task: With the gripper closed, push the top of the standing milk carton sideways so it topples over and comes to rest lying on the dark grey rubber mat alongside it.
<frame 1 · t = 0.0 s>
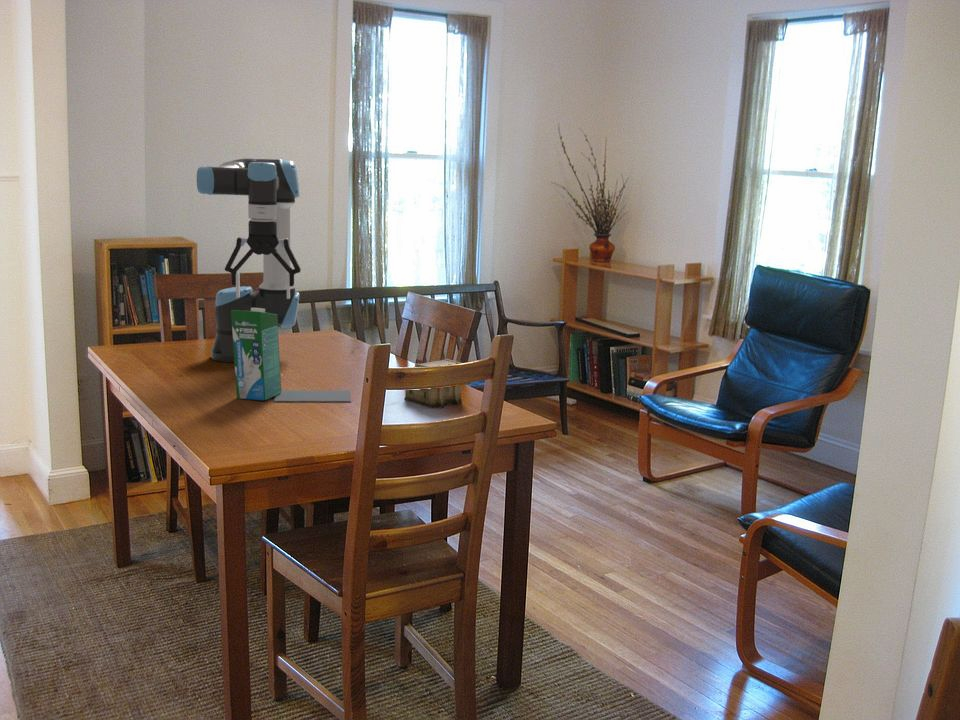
hand: (263, 297, 262), 28 cm above the table, fingers open, 13 cm apart
milk carton: (259, 396, 267), on the table
mat: (313, 396, 269), on the table
miniature house: (435, 401, 271), on the table
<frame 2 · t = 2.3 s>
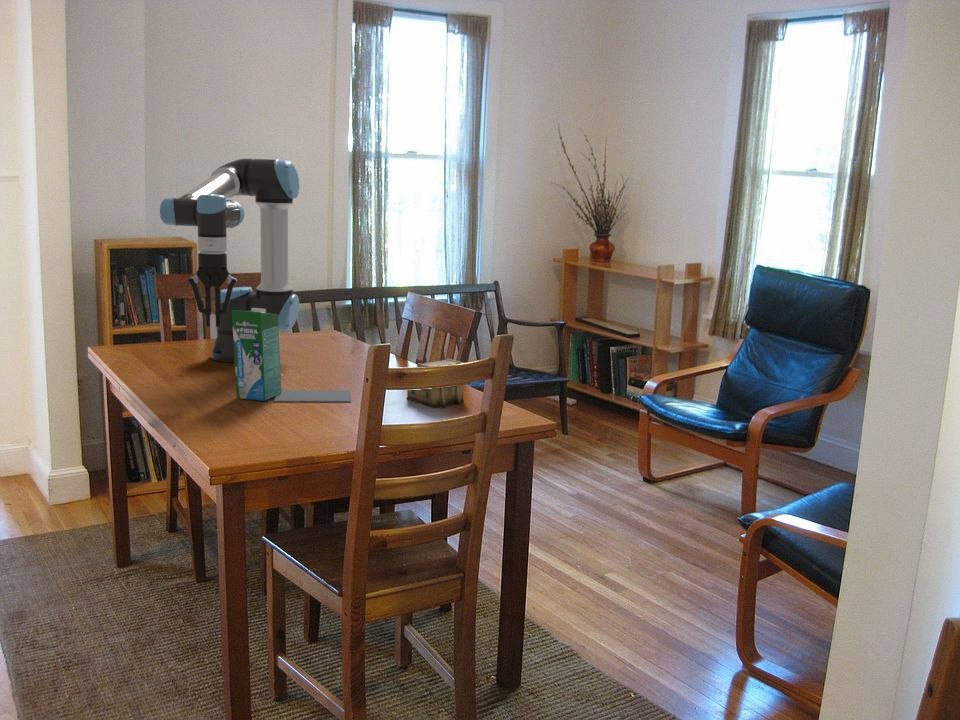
hand: (213, 338, 262), 17 cm above the table, fingers closed
milk carton: (259, 396, 267), on the table, touching mat
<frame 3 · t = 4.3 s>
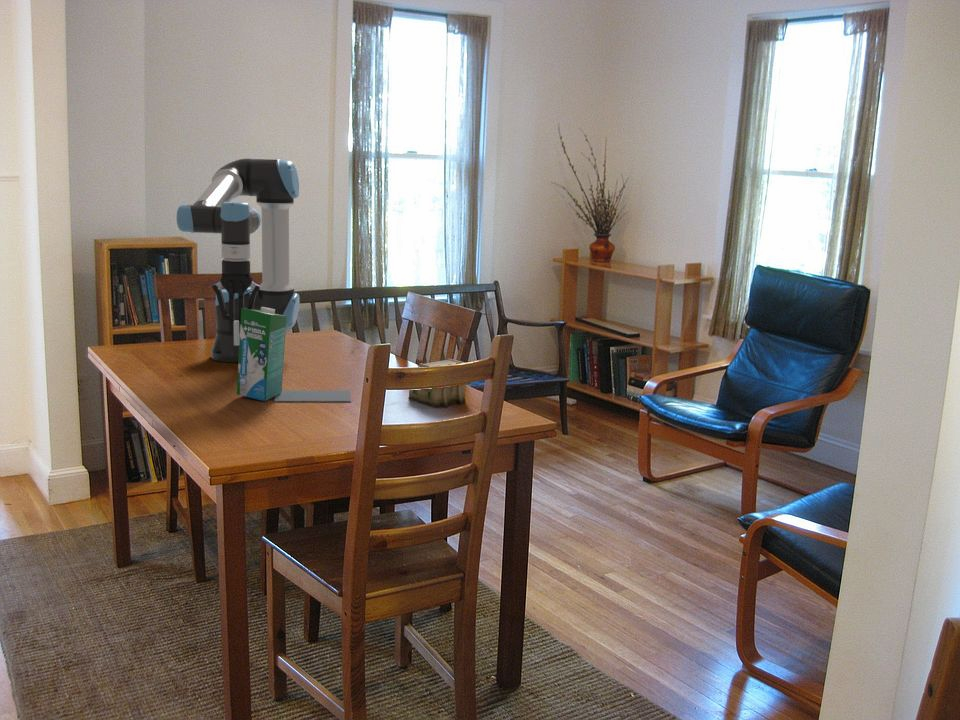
hand: (237, 344, 263), 15 cm above the table, fingers closed
milk carton: (259, 394, 267), point 1 cm above the table, touching mat
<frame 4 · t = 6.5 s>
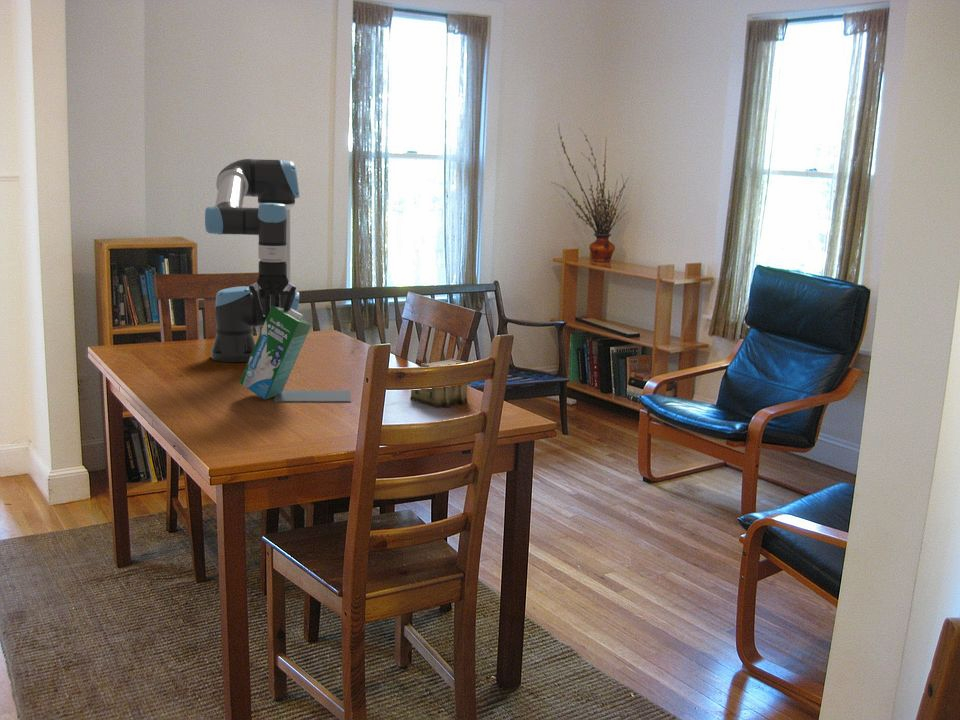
hand: (273, 344, 265), 15 cm above the table, fingers closed
milk carton: (260, 389, 267), point 2 cm above the table, touching hand, mat
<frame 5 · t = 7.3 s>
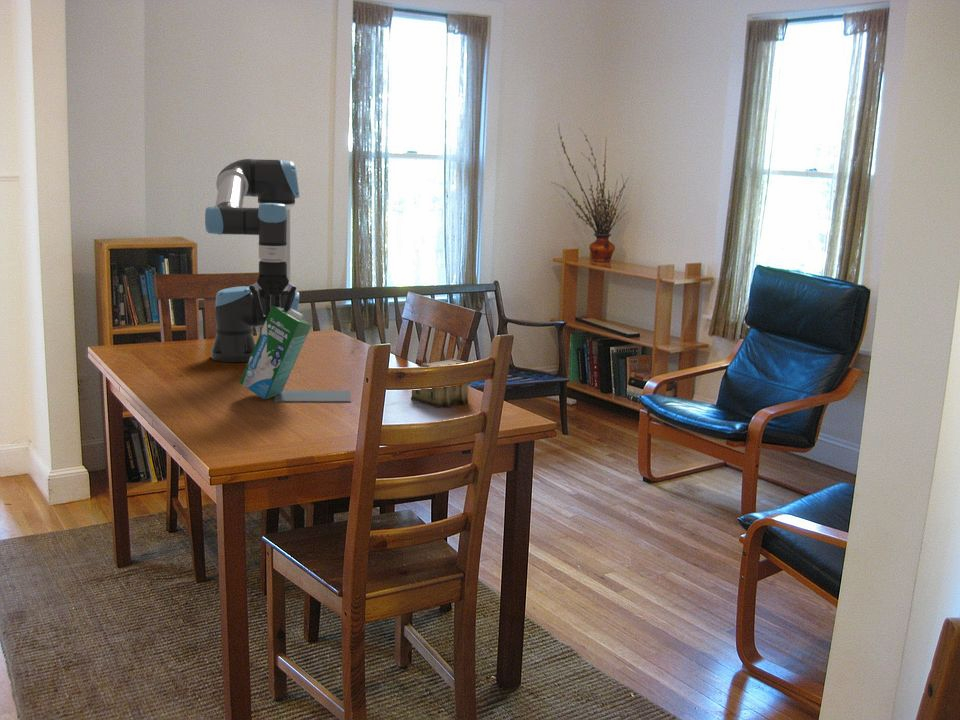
hand: (273, 344, 265), 15 cm above the table, fingers closed
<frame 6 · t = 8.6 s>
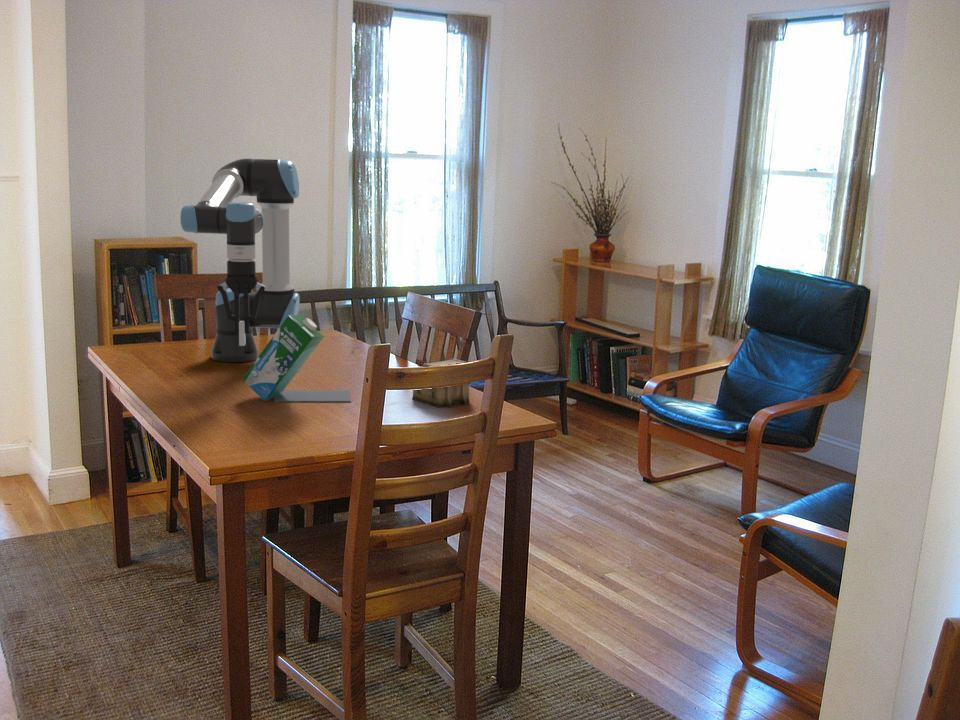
hand: (242, 344, 263), 15 cm above the table, fingers closed
milk carton: (261, 386, 266), point 3 cm above the table, touching mat
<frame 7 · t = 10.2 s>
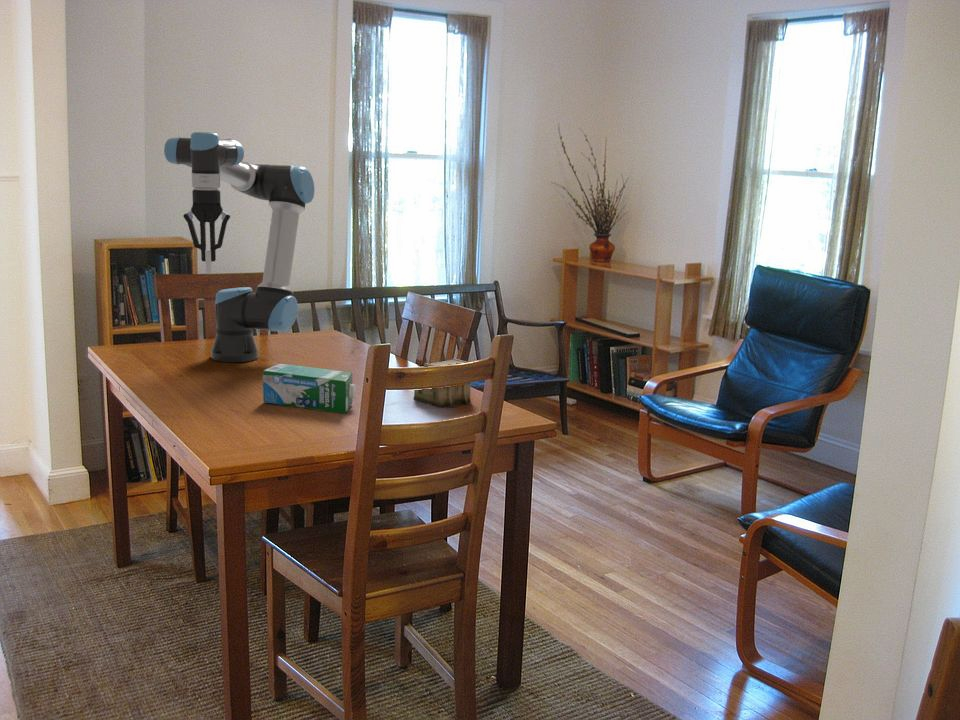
hand: (209, 272, 270), 33 cm above the table, fingers closed
milk carton: (270, 382, 264), point 5 cm above the table, touching mat
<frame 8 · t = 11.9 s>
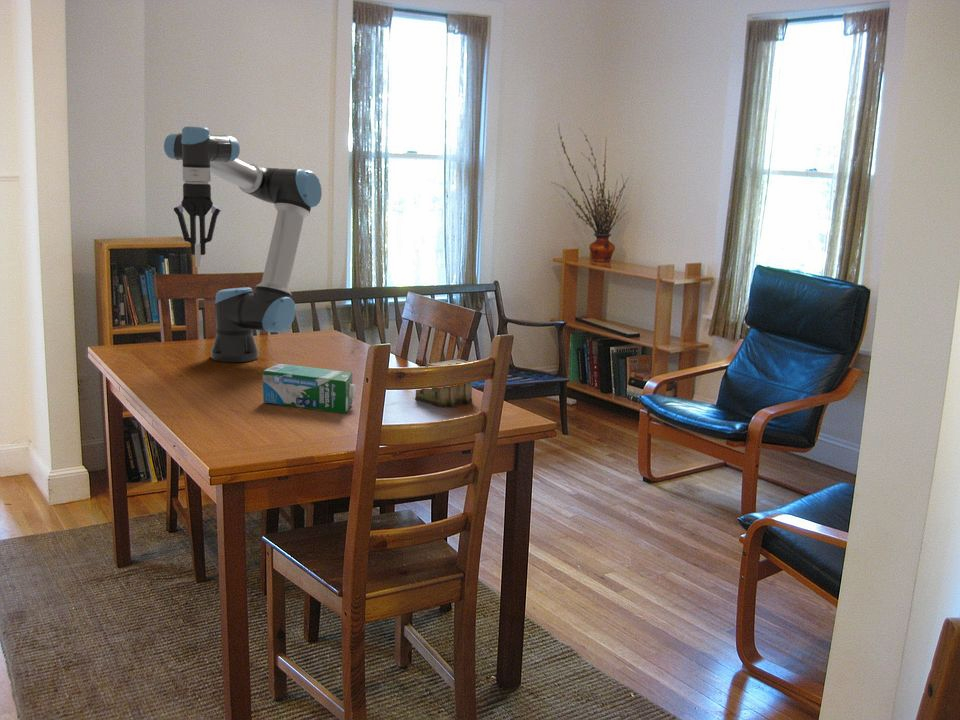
hand: (198, 266, 273), 34 cm above the table, fingers closed
at the end: milk carton tilted 90°; milk carton inside the target area (12.6 cm from its centre), point 4.9 cm above the table; the gripper is holding nothing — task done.
